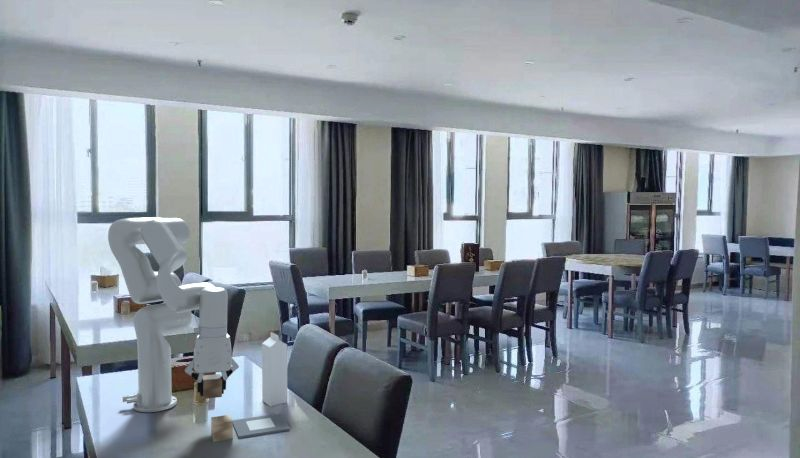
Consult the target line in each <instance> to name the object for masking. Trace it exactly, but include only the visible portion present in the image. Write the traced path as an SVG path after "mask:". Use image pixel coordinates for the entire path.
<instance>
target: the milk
mask: <svg viewBox="0 0 800 458" xmlns="http://www.w3.org/2000/svg"><path fill="white" fill-rule="evenodd" d="M261 360H262V361H261V363H262V364H261V365H262V368H261V369H262V370H261V374H262V375H261V376H262V377H261V378H262V379H261V382H262V384H261V385H262V387H261V390H262V393H261V394H262V402H263V403H265V404H266V405H268V406H269V407H273V406H277V405H282V404H287V403H288V343H285V342H283V341H281V340H280V337H279V334H278V335H277V334H276V333H274V332H270V337H268V338H267V339H266V340H264V341H263V342H262V343H261Z"/></svg>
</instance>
